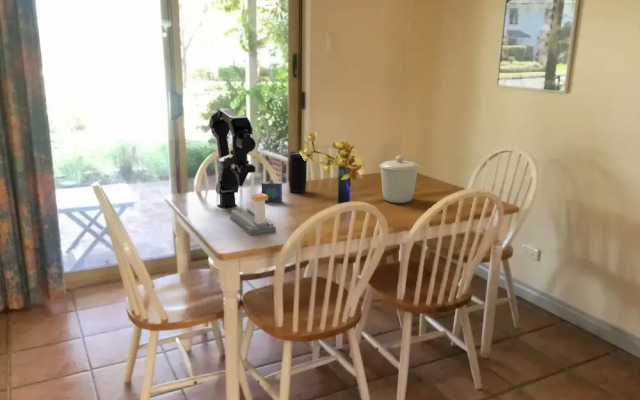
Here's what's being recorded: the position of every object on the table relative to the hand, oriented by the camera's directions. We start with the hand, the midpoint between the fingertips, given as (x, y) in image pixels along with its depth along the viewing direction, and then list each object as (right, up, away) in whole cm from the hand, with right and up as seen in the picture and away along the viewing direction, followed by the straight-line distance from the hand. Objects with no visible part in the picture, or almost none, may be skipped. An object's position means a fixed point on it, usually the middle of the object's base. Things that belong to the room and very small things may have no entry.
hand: (240, 186), depth 219 cm
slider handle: (+9, -15, -15) cm, 23 cm away
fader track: (+5, -15, -7) cm, 18 cm away
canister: (+68, -6, +32) cm, 76 cm away
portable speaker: (+21, -2, +46) cm, 50 cm away
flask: (+10, -7, +27) cm, 30 cm away
